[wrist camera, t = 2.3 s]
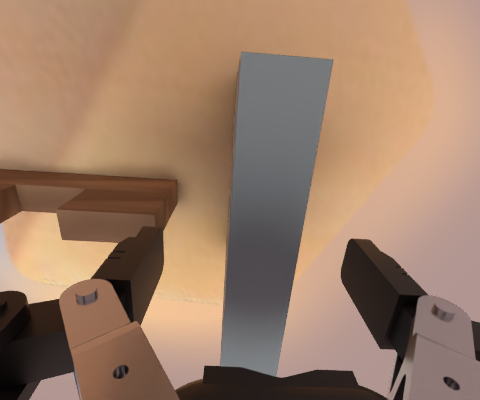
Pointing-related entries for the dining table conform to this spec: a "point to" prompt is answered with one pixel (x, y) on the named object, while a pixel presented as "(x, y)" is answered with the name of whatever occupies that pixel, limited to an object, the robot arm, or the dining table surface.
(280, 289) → the grey block
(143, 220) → the walnut board
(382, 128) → the dining table surface
